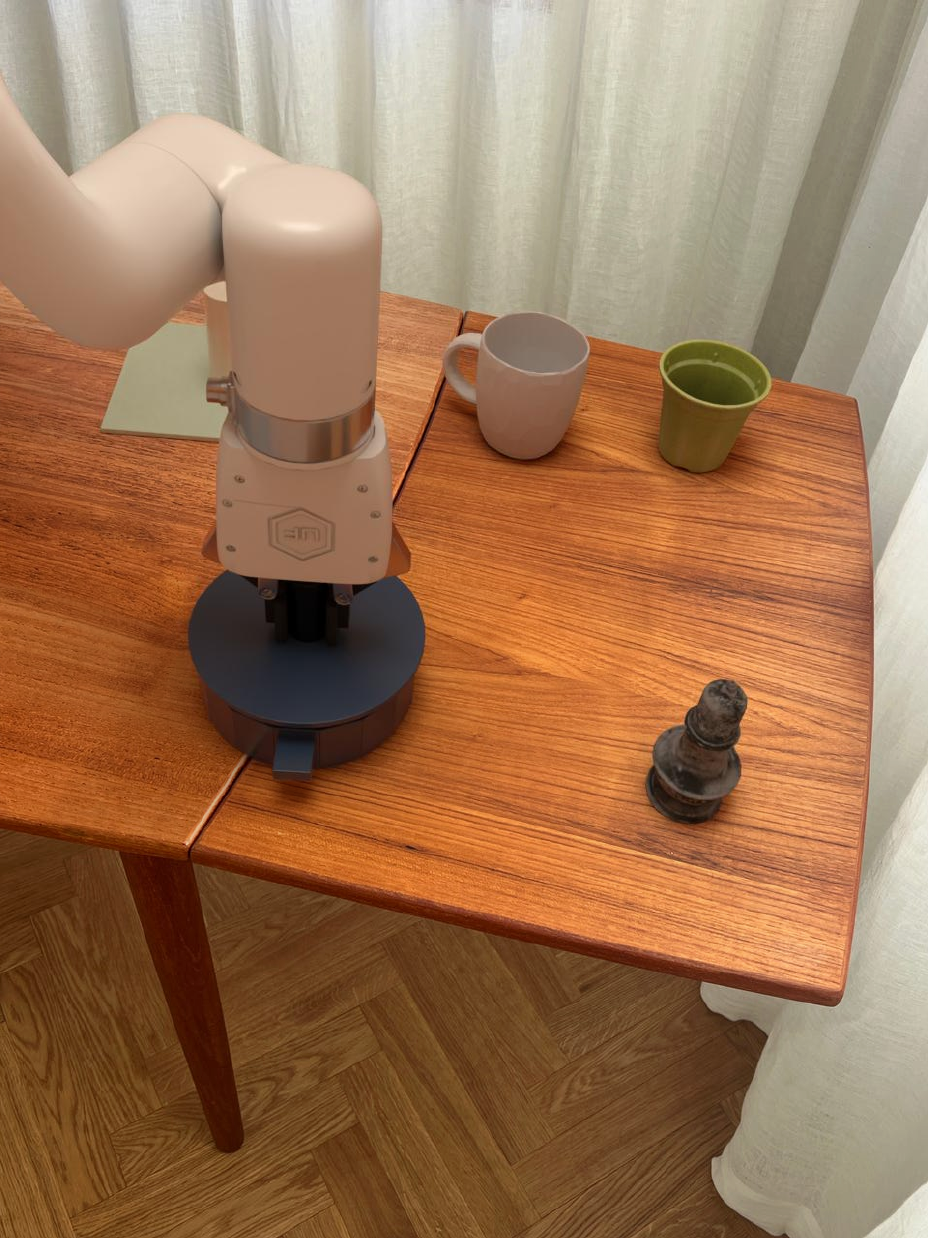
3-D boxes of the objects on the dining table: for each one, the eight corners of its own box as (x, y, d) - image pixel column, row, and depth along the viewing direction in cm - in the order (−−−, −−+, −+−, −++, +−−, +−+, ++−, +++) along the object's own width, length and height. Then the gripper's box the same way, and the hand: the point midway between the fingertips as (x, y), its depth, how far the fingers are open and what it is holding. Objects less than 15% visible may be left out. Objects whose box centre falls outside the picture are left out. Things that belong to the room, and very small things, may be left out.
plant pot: (673, 496, 95) (698, 416, 89) (619, 429, 101) (640, 348, 94) (762, 474, 98) (793, 394, 92) (705, 410, 104) (731, 331, 97)
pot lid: (169, 725, 69) (157, 658, 64) (210, 548, 79) (202, 478, 74) (420, 741, 70) (427, 676, 65) (428, 564, 80) (435, 496, 75)
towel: (100, 432, 93) (99, 428, 93) (139, 323, 104) (139, 319, 104) (339, 452, 95) (339, 447, 94) (353, 342, 105) (353, 338, 105)
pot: (177, 797, 71) (170, 758, 68) (225, 572, 84) (221, 529, 81) (405, 811, 72) (410, 773, 69) (417, 586, 85) (421, 545, 82)
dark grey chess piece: (711, 750, 78) (762, 640, 69) (738, 823, 74) (796, 716, 65) (630, 758, 77) (672, 646, 68) (654, 832, 73) (701, 725, 64)
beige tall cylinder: (206, 393, 97) (197, 298, 90) (214, 363, 100) (206, 269, 93) (257, 397, 98) (252, 303, 91) (263, 367, 101) (259, 274, 94)
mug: (586, 429, 100) (608, 335, 93) (542, 484, 95) (560, 388, 87) (464, 378, 103) (475, 282, 96) (414, 427, 98) (422, 330, 90)
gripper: (139, 437, 57) (174, 663, 71) (453, 462, 58) (428, 680, 72) (166, 351, 62) (194, 578, 76) (455, 376, 63) (431, 595, 77)
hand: (308, 626), depth 74 cm, fingers closed on pot lid, 2 cm apart
